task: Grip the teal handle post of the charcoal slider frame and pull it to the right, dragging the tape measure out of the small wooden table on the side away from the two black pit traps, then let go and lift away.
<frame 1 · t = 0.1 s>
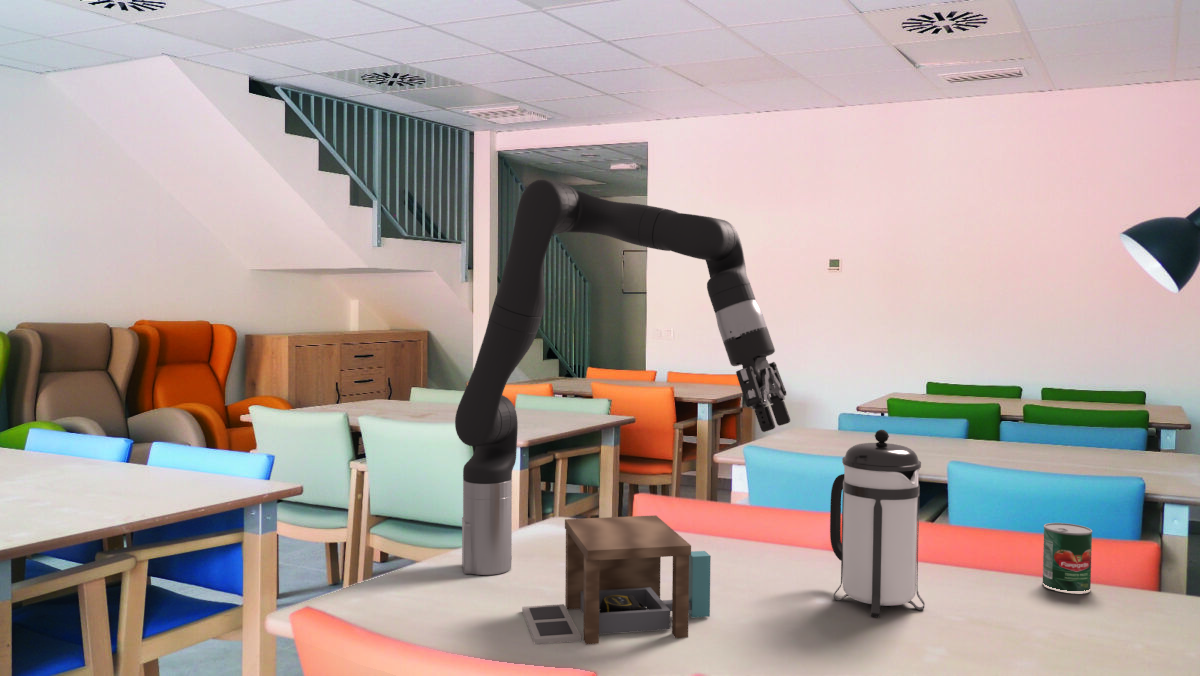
hand: (776, 427, 151), 31 cm above the table, fingers open, 8 cm apart
tape measure: (624, 623, 151), on the table
coffee press: (871, 603, 161), on the table
slider: (648, 586, 152), point 5 cm above the table, slide at 0.0 cm
small wooden table: (623, 620, 151), on the table
canned tomato: (1066, 588, 170), on the table
pit traps: (550, 625, 148), on the table
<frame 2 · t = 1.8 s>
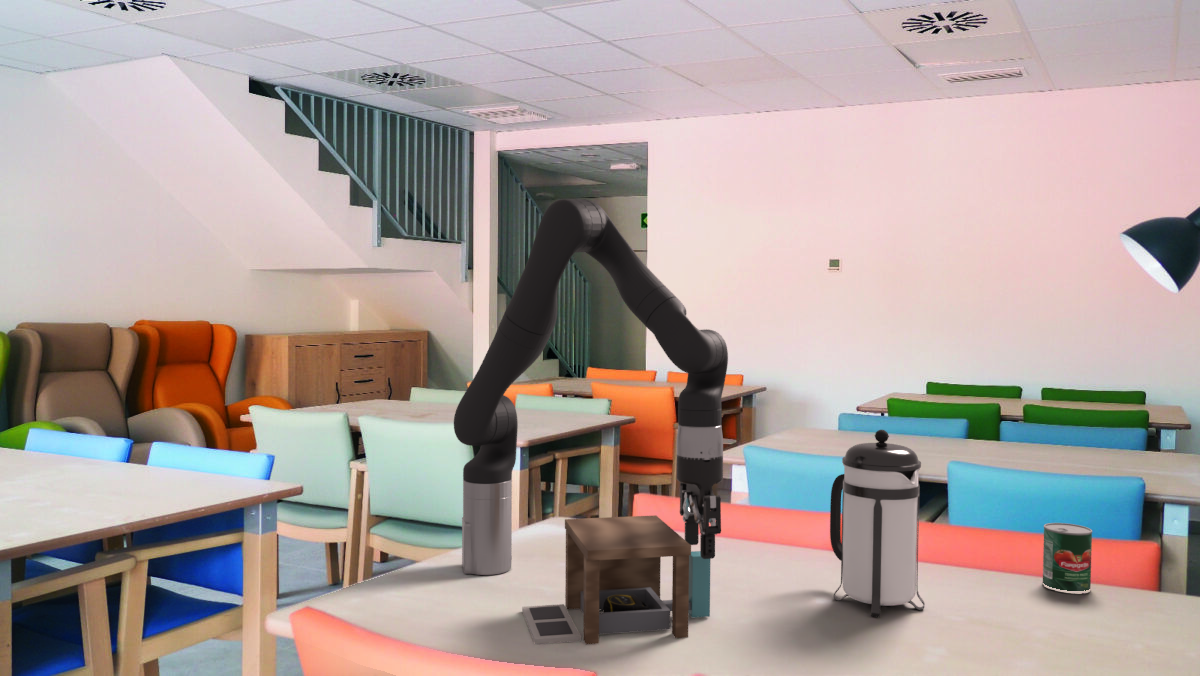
hand: (699, 551, 153), 11 cm above the table, fingers open, 8 cm apart
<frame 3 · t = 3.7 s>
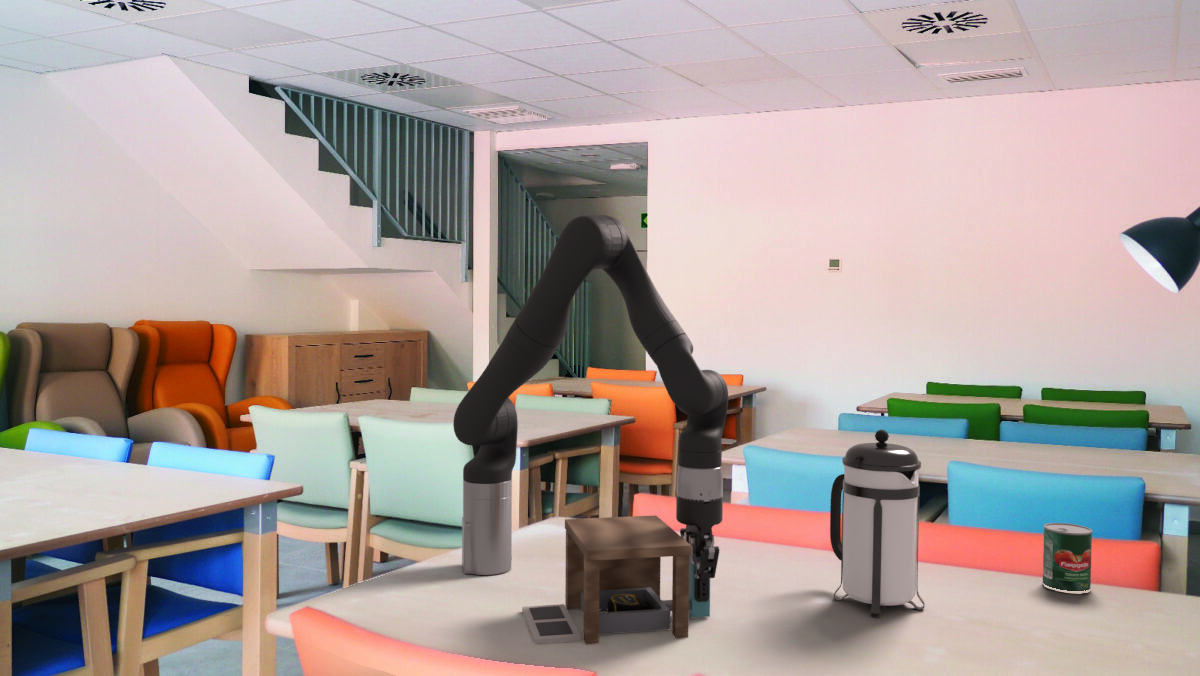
hand: (698, 597, 153), 3 cm above the table, fingers closed on slider, 3 cm apart
slider: (648, 586, 152), point 5 cm above the table, slide at 0.0 cm, touching gripper
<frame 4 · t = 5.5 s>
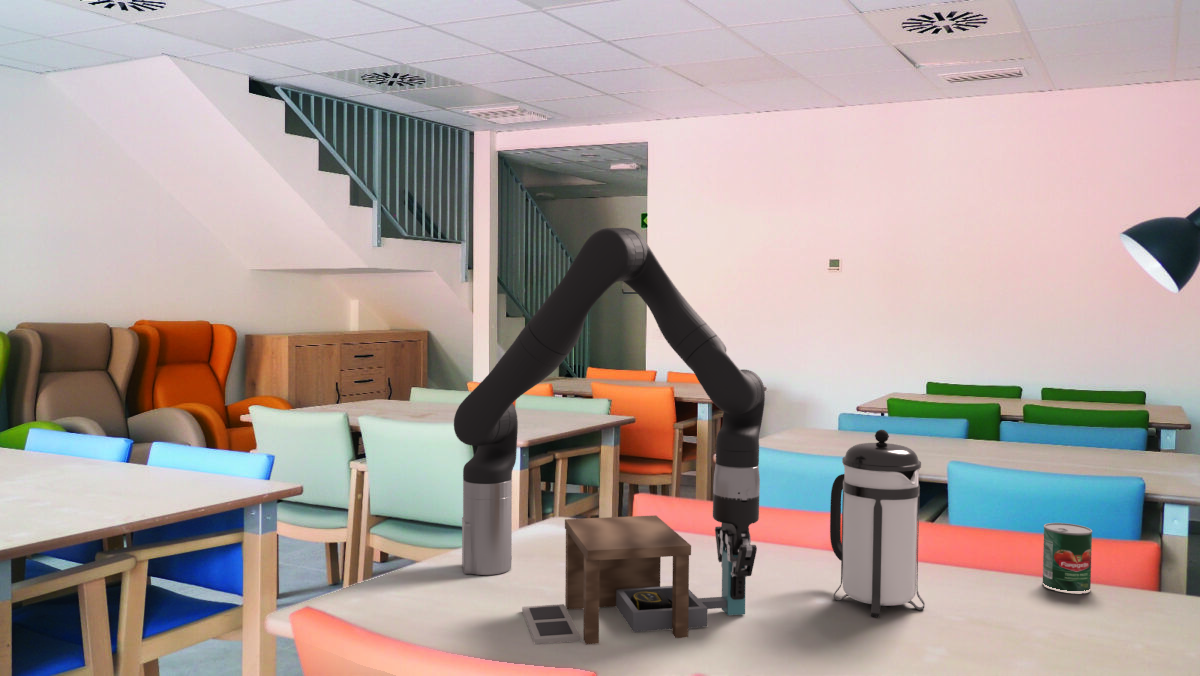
hand: (733, 594, 155), 3 cm above the table, fingers closed on slider, 3 cm apart
tape measure: (654, 619, 152), on the table, touching slider
slider: (684, 584, 153), point 5 cm above the table, slide at 6.1 cm, touching gripper, tape measure
everything else where it was.
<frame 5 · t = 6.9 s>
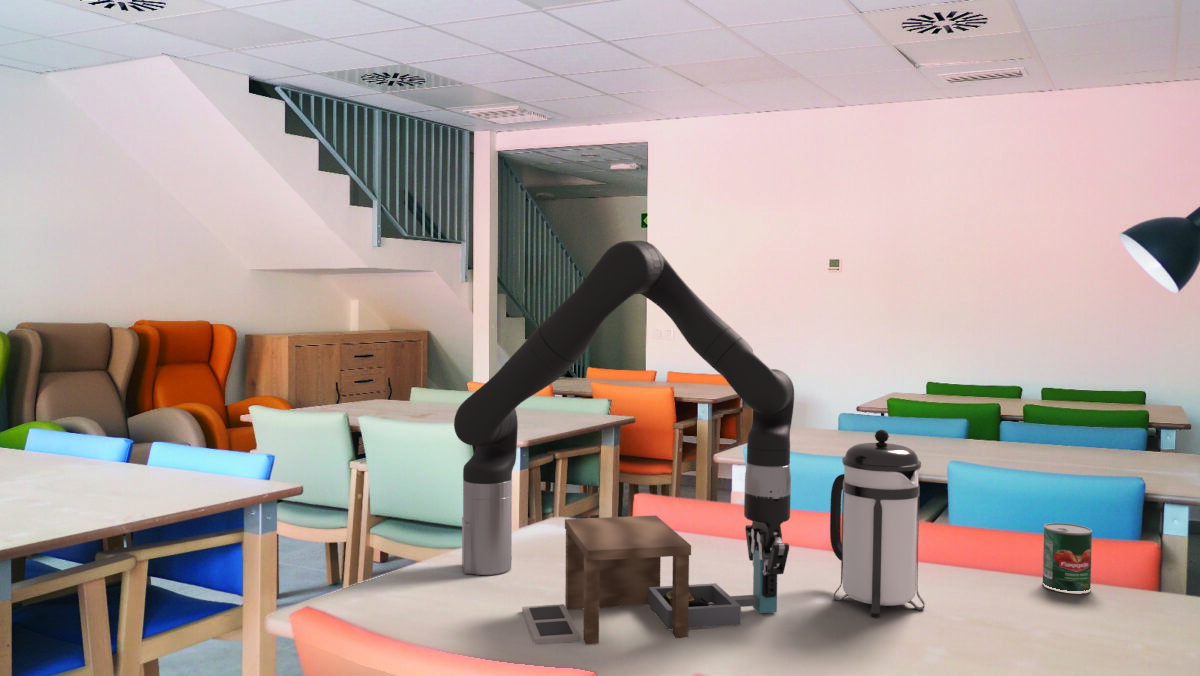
hand: (765, 592, 156), 3 cm above the table, fingers closed on slider, 3 cm apart
tape measure: (686, 617, 154), on the table
slider: (716, 582, 154), point 5 cm above the table, slide at 11.6 cm, touching gripper
everything else where it was.
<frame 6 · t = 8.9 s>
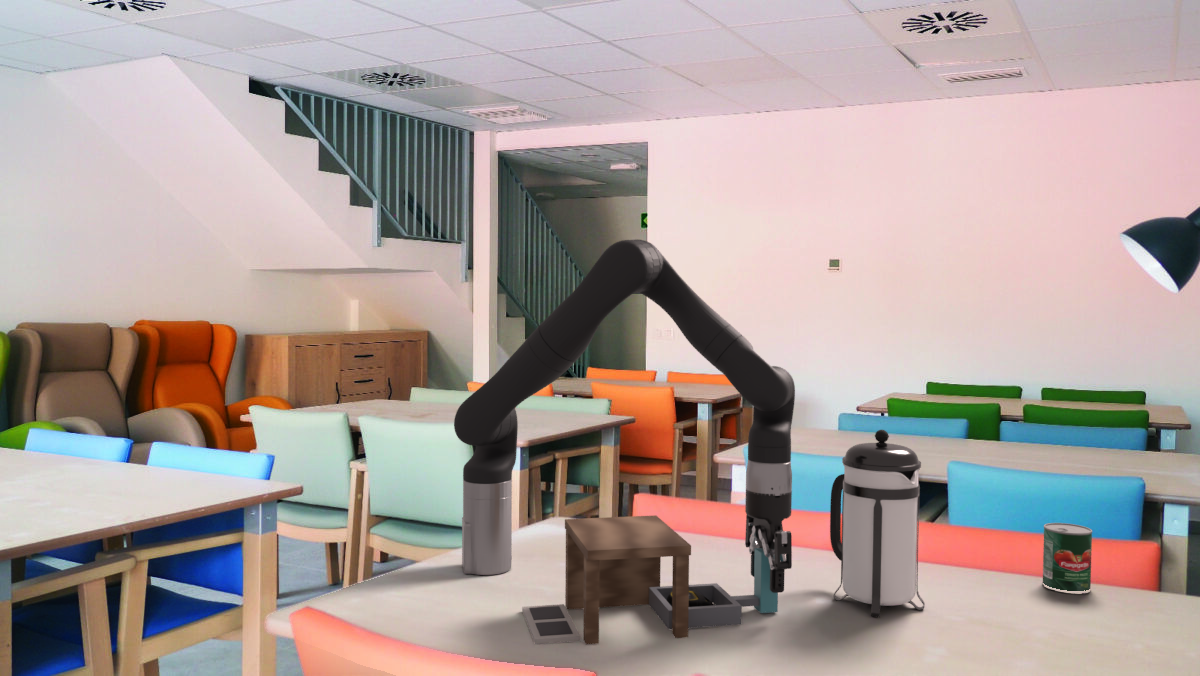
hand: (766, 583, 156), 5 cm above the table, fingers open, 8 cm apart
slider: (717, 582, 154), point 5 cm above the table, slide at 11.8 cm
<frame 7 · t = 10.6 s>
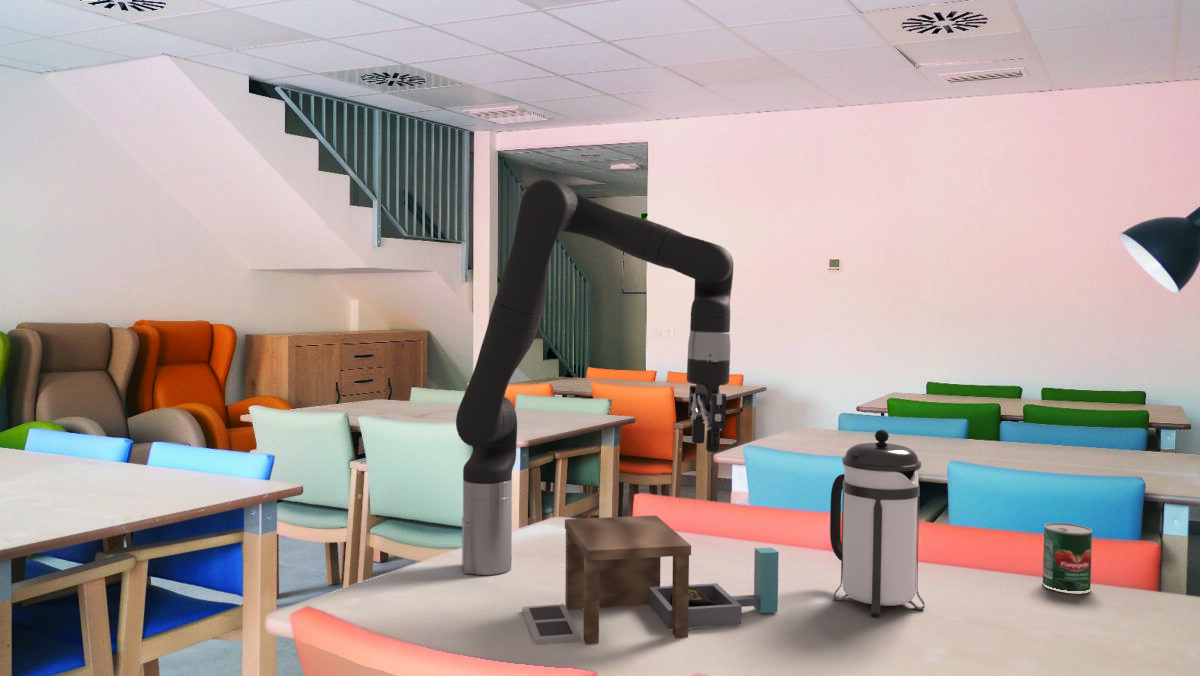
hand: (705, 447, 168), 25 cm above the table, fingers open, 8 cm apart
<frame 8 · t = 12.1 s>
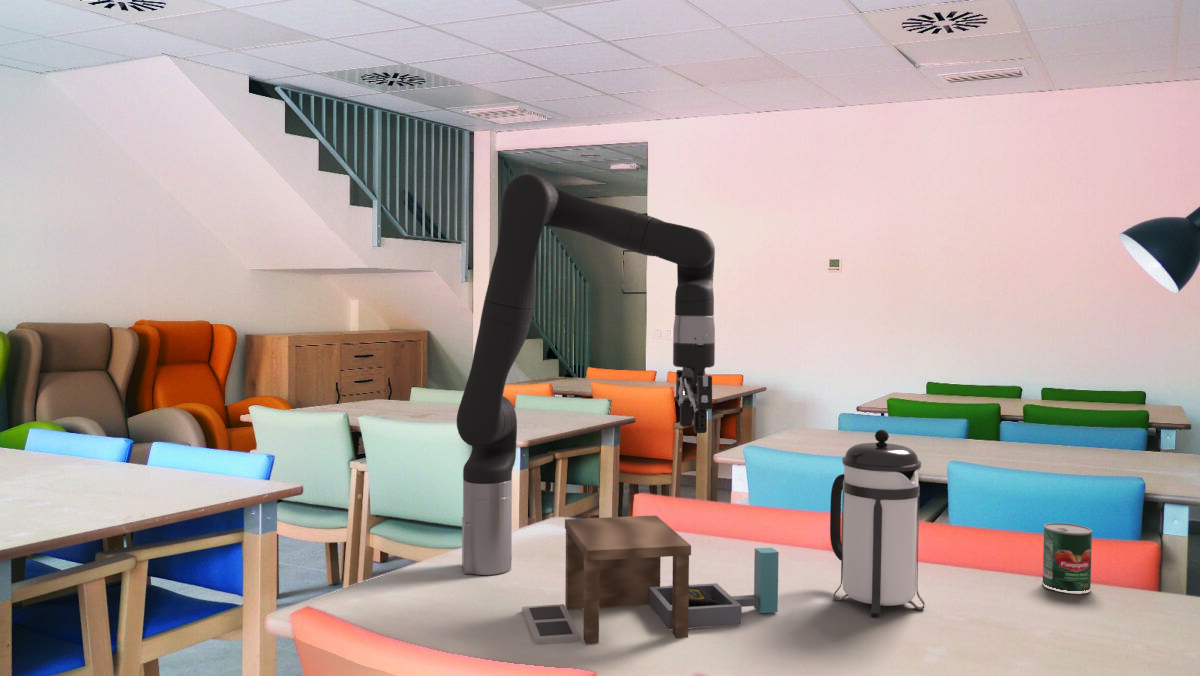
hand: (692, 429, 171), 28 cm above the table, fingers open, 8 cm apart
at the end: tape measure inside the target area (1.2 cm from its centre), on the table; slider slide at 11.8 cm; tape measure tilted 1° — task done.
